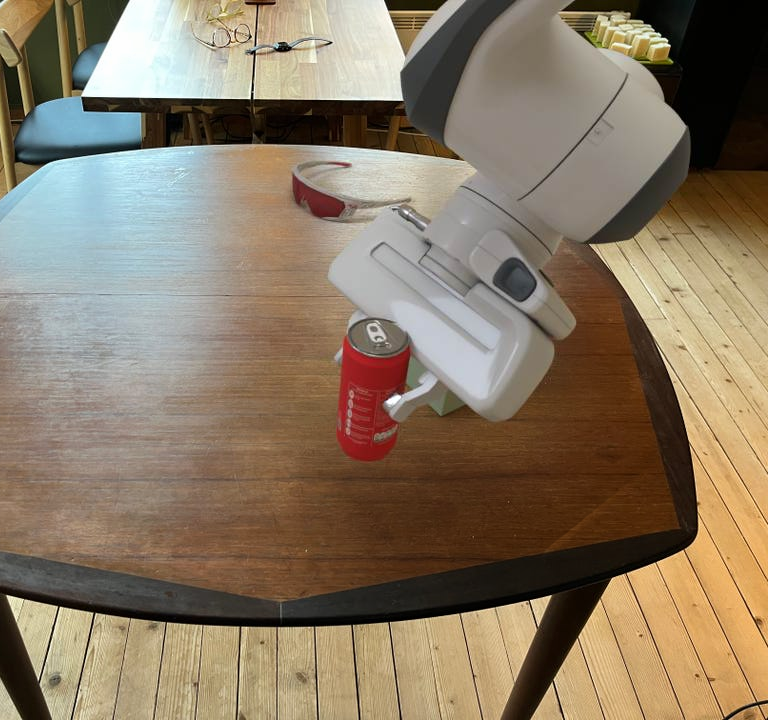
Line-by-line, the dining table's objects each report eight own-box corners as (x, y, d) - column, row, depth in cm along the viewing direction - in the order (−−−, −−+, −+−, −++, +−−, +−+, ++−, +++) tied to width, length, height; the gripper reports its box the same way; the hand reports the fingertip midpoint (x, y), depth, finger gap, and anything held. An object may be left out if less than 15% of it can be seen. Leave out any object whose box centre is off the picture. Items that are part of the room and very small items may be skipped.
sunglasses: (268, 189, 121) (272, 160, 118) (343, 178, 131) (349, 150, 128) (335, 234, 111) (342, 203, 108) (412, 218, 121) (420, 189, 118)
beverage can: (345, 471, 61) (356, 363, 53) (328, 426, 65) (335, 320, 57) (404, 460, 62) (423, 352, 54) (383, 417, 66) (398, 310, 58)
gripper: (376, 178, 60) (275, 310, 63) (567, 307, 47) (430, 466, 50) (412, 211, 65) (316, 333, 68) (594, 337, 52) (468, 481, 55)
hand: (366, 391), depth 59 cm, fingers closed on beverage can, 5 cm apart
